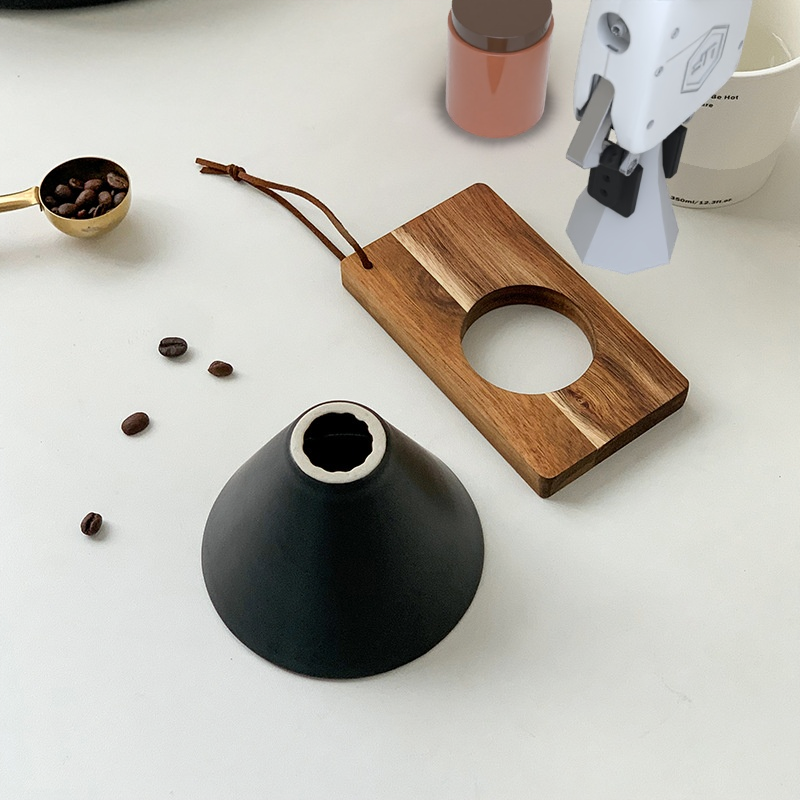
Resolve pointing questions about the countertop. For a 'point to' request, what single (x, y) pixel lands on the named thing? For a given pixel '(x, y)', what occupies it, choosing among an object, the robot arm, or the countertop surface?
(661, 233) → the flask
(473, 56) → the jar
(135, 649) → the countertop surface
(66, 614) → the countertop surface
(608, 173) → the robot arm
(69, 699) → the countertop surface
